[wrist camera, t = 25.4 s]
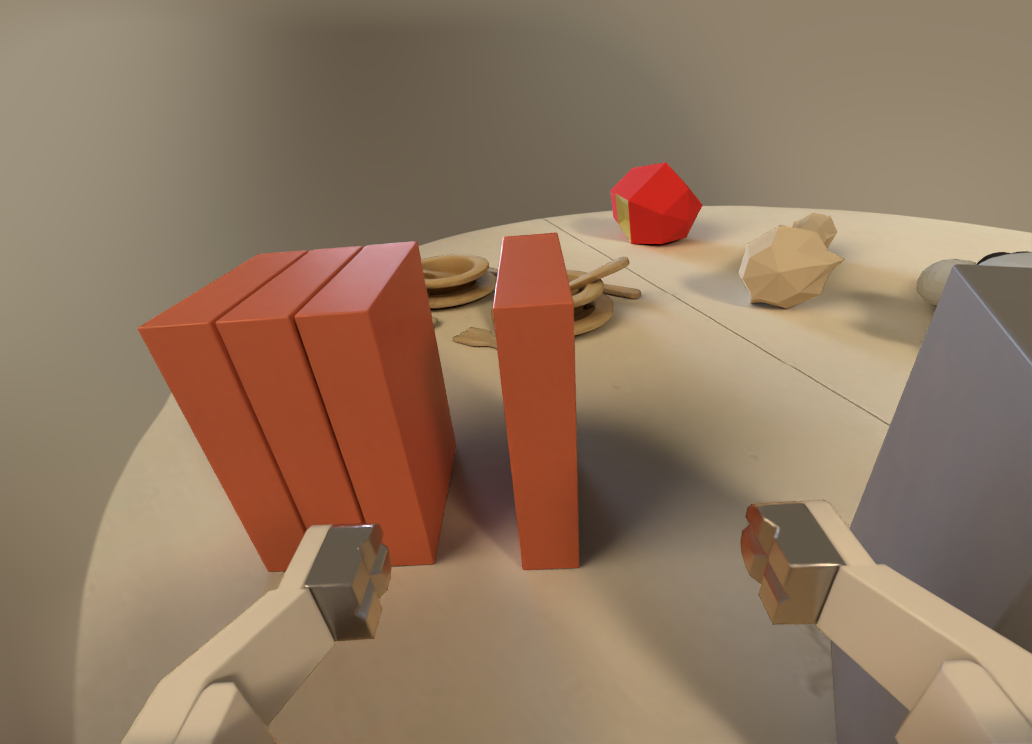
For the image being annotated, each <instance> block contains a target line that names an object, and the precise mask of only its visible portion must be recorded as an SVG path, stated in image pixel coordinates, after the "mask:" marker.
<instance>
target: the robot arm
mask: <svg viewBox="0 0 1032 744" xmlns="http://www.w3.org/2000/svg"><path fill="white" fill-rule="evenodd" d="M746 518H747V520H748V522H749V524H750V525H749V526H747V527H746V528H745V529H744V530H743V531H742V536H741V552H742V557H743V560H744V564H745V566H746V568H747V571H748V573H749V575H750V576H751V577H752V578H754V579H755V580H756V581H758V582H759V583H760V584H761V587H760V591H759V597H760V599H761V601H762V603H763V605H764V607H765V609H766V611H767V613H768V615H769V618H770V620H771V622H772V624H773V625H777V624H817V625H816V627H817V628H818V629H819V630H821V631H822V632H823V633H824V634H825V635H826V636H827V637H828V638H829V639H831V640H832V641H833V642H834V643H835V644H836V645H837V646H838V647H839V648H841V649H842V650H843V651H844V652H845V653H846V654H847V655H848V656H849V657H851V658H852V659H853V660H854V661H855V662H856V663H857V664H858V665H859V666H860V667H862V668H863V669H864V670H865V671H866V672H867V673H868V674H869V675H870V676H872V677H873V678H874V679H875V680H876V681H877V682H878V683H879V684H880V685H882V686H883V687H884V688H885V689H886V690H887V691H888V692H889V693H890V694H891V695H893V696H894V697H895V698H896V699H897V700H898V701H899V702H900V703H901V704H903V705H904V706H905V707H906V708H907V709H908V710H909V711H910V712H909V714H908V715H907V717H906V718H905V720H904V721H903V723H902V724H901V726H900V727H899V729H898V731H897V733H896V735H895V739H896V740H897V742H898V744H1032V653H1030V652H1028V651H1027V650H1025V649H1023V648H1022V647H1020V646H1018V645H1017V644H1015V643H1014V642H1012V641H1010V640H1009V639H1007V638H1005V637H1004V636H1002V635H1000V634H999V633H997V632H995V631H994V630H992V629H990V628H989V627H987V626H985V625H984V624H982V623H980V622H979V621H977V620H976V619H974V618H972V617H971V616H969V615H967V614H966V613H964V612H962V611H961V610H959V609H957V608H956V607H954V606H952V605H951V604H949V603H947V602H946V601H944V600H943V599H941V598H939V597H938V596H936V595H934V594H933V593H931V592H929V591H928V590H926V589H924V588H923V587H921V586H919V585H918V584H916V583H914V582H913V581H911V580H909V579H908V578H906V577H905V576H903V575H901V574H900V573H898V572H896V571H895V570H893V569H891V568H890V567H888V566H886V565H885V564H876V563H875V562H874V561H873V559H872V558H871V557H870V555H869V554H868V553H867V551H866V550H865V549H864V547H863V546H862V545H861V543H860V542H859V541H858V539H857V538H856V537H855V535H854V534H853V533H852V531H851V530H850V529H849V528H848V526H847V525H846V524H845V522H844V521H843V520H842V518H841V517H840V516H839V514H838V513H837V512H836V510H835V509H834V508H833V506H832V505H831V504H830V503H829V502H827V501H826V500H811V501H799V502H798V501H790V502H773V503H757V504H751V505H750V506H749V507H748V509H747V513H746ZM383 534H384V533H383V531H382V528H381V526H380V524H378V523H358V524H329V525H312V526H311V527H310V528H309V529H307V531H306V532H305V534H304V536H303V538H302V540H301V542H300V544H299V546H298V548H297V550H296V552H295V554H294V556H293V558H292V560H291V562H290V564H289V566H288V568H287V570H286V572H285V574H284V576H283V578H282V580H281V582H280V584H279V586H278V588H277V589H276V590H269V591H268V592H267V593H266V594H265V595H263V596H262V597H261V598H260V599H259V600H257V601H256V602H255V603H254V604H253V605H251V606H250V607H249V608H248V609H247V610H245V611H244V612H243V613H242V614H241V615H239V616H238V617H237V618H236V619H234V620H233V621H232V622H231V623H230V624H228V625H227V626H226V627H225V628H224V629H222V630H221V631H220V632H219V633H218V634H216V635H215V636H214V637H213V638H212V639H210V640H209V641H208V642H207V643H206V644H204V645H203V646H202V647H201V648H200V649H198V650H197V651H196V652H195V653H194V654H192V655H191V656H190V657H189V658H187V659H186V660H185V661H184V662H183V663H181V664H180V665H179V666H178V667H177V668H175V669H174V670H173V671H172V672H171V673H169V674H168V675H167V676H166V677H165V678H163V679H162V680H161V681H160V682H159V683H158V684H157V686H156V688H155V689H154V691H153V693H152V694H151V696H150V697H149V699H148V701H147V702H146V704H145V705H144V707H143V709H142V710H141V712H140V713H139V715H138V717H137V718H136V720H135V721H134V723H133V725H132V726H131V728H130V729H129V731H128V733H127V734H126V736H125V737H124V739H123V741H122V742H121V744H279V742H278V741H277V740H276V738H275V737H274V736H273V734H272V733H271V732H270V730H269V729H268V728H267V726H268V725H269V723H270V722H271V721H272V720H273V718H274V717H275V716H276V715H277V714H278V712H279V711H280V710H281V709H282V708H283V706H284V705H285V704H286V703H287V702H288V700H289V699H290V698H291V697H292V696H293V694H294V693H295V692H296V691H297V689H298V688H299V687H300V686H301V685H302V683H303V682H304V681H305V680H306V679H307V677H308V676H309V675H310V674H311V673H312V671H313V670H314V669H315V668H316V667H317V665H318V664H319V663H320V662H321V660H322V659H323V658H324V657H325V656H326V654H327V653H328V652H329V651H330V650H331V648H332V647H333V646H334V645H335V641H346V640H362V639H374V637H375V633H376V630H377V626H378V623H379V619H380V615H381V612H382V607H381V604H380V602H379V598H380V597H381V596H382V595H383V594H384V593H385V592H386V591H387V590H388V586H389V582H390V578H391V566H392V564H391V555H390V552H389V548H388V547H387V546H386V545H384V544H383V543H381V541H382V538H383Z"/></svg>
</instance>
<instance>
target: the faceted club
mask: <svg viewBox="0 0 1032 744" xmlns="http://www.w3.org/2000/svg"><path fill="white" fill-rule="evenodd" d="M836 233H837V230H836V228H835V226H834V224H833V221H832V219H831V217H830V216H826V215H821V214H815V213H812V214H810V215H808V216H806V217H805V218H803V219H801V220H799V221H796V222H794V223H793V227H787V226H782V225H779V226H777V227H776V228H774V229H772V230H770V231H769V232H767V233H765V234H763V235H762V236H760V237H758V238H756V239H755V240H753V241H751V242H749V243H748V245H747V248H746V251H745V254H744V257H743V260H742V264H741V267H740V270H739V273H738V274H739V276H740V278H741V279H742V281H743V283H744V284H745V286H746V288H747V289H748V291H749V294H750V301H751V303H767V304H770V305H774V306H778V307H782V308H786V309H788V308H790V307H793V306H795V305H797V304H799V303H801V302H804V301H806V300H808V299H810V298H813V297H815V296H817V295H819V294H821V292H822V290H823V287H824V285H825V283H826V280H827V278H828V275H829V273H830V272H831V271H832V270H833V269H834V268H835V267H836V266H837V265H839V264H840V263H841V262H842V261H843V260H844V259H843V258H841V257H839V256H837V255H835V254H833V253H831V252H829V251H828V250H827V248H828V247H829V245H830V243H831V242H832V240H833V238H834V237H835V235H836Z"/></svg>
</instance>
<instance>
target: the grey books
mask: <svg viewBox="0 0 1032 744" xmlns="http://www.w3.org/2000/svg"><path fill="white" fill-rule="evenodd" d="M850 530H851V531H852V533H853V534H854V535H855V537H856V538H857V539H858V541H859V542H860V543H861V545H862V546H863V547H864V549H865V550H866V551H867V553H868V554H869V555H870V557H871V558H872V559H873V561H874V562H875V563H876V564H885V565H886V566H888V567H890V568H891V569H893V570H895V571H896V572H898V573H900V574H901V575H903V576H905V577H906V578H908V579H909V580H911V581H913V582H914V583H916V584H918V585H919V586H921V587H923V588H924V589H926V590H928V591H929V592H931V593H933V594H934V595H936V596H938V597H939V598H941V599H943V600H944V601H946V602H947V603H949V604H951V605H952V606H954V607H956V608H957V609H959V610H961V611H962V612H964V613H966V614H967V615H969V616H971V617H972V618H974V619H976V620H977V621H979V622H980V623H982V624H984V625H985V626H987V627H989V628H990V629H992V630H994V631H995V632H997V633H999V634H1000V635H1002V636H1004V637H1005V638H1007V639H1009V640H1010V641H1012V642H1014V643H1015V644H1017V645H1018V646H1020V647H1022V648H1023V649H1025V650H1027V651H1028V652H1030V653H1032V268H1024V267H1004V266H984V265H964V264H956V265H954V266H953V267H952V269H951V272H950V274H949V277H948V279H947V282H946V284H945V287H944V289H943V292H942V294H941V297H940V300H939V302H938V305H937V307H936V310H935V312H934V315H933V317H932V320H931V322H930V325H929V327H928V330H927V333H926V335H925V338H924V340H923V343H922V345H921V348H920V350H919V353H918V355H917V358H916V361H915V363H914V366H913V368H912V371H911V373H910V376H909V378H908V381H907V383H906V386H905V389H904V391H903V394H902V396H901V399H900V401H899V404H898V406H897V409H896V411H895V414H894V417H893V419H892V422H891V424H890V427H889V429H888V432H887V434H886V437H885V439H884V442H883V445H882V447H881V450H880V452H879V455H878V457H877V460H876V462H875V465H874V467H873V470H872V473H871V475H870V478H869V480H868V483H867V485H866V488H865V490H864V493H863V495H862V498H861V501H860V503H859V506H858V508H857V511H856V513H855V516H854V518H853V521H852V523H851V526H850ZM831 651H832V666H833V681H834V697H835V712H836V728H837V743H838V744H898V742H897V740H896V739H895V735H896V733H897V731H898V729H899V727H900V726H901V724H902V723H903V721H904V720H905V718H906V717H907V715H908V714H909V712H910V711H909V710H908V709H907V708H906V707H905V706H904V705H903V704H901V703H900V702H899V701H898V700H897V699H896V698H895V697H894V696H893V695H891V694H890V693H889V692H888V691H887V690H886V689H885V688H884V687H883V686H882V685H880V684H879V683H878V682H877V681H876V680H875V679H874V678H873V677H872V676H870V675H869V674H868V673H867V672H866V671H865V670H864V669H863V668H862V667H860V666H859V665H858V664H857V663H856V662H855V661H854V660H853V659H852V658H851V657H849V656H848V655H847V654H846V653H845V652H844V651H843V650H842V649H841V648H839V647H838V646H837V645H836V644H835V643H834V642H833V641H832V640H831Z"/></svg>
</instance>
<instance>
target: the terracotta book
mask: <svg viewBox="0 0 1032 744" xmlns="http://www.w3.org/2000/svg"><path fill="white" fill-rule="evenodd" d="M493 316H494V325H495V333H496V342H497V351H498V359H499V368H500V377H501V385H502V394H503V403H504V411H505V420H506V429H507V437H508V446H509V455H510V463H511V472H512V480H513V489H514V498H515V506H516V515H517V524H518V532H519V541H520V550H521V558H522V567H523V570H534V569H559V568H579V566H580V565H579V520H578V474H577V429H576V384H575V338H574V302H573V298H572V294H571V289H570V285H569V281H568V276H567V272H566V268H565V264H564V259H563V255H562V251H561V246H560V242H559V238H558V234H557V233H546V234H534V235H521V236H508V237H503V241H502V248H501V255H500V262H499V269H498V276H497V282H496V289H495V296H494V303H493Z"/></svg>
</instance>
